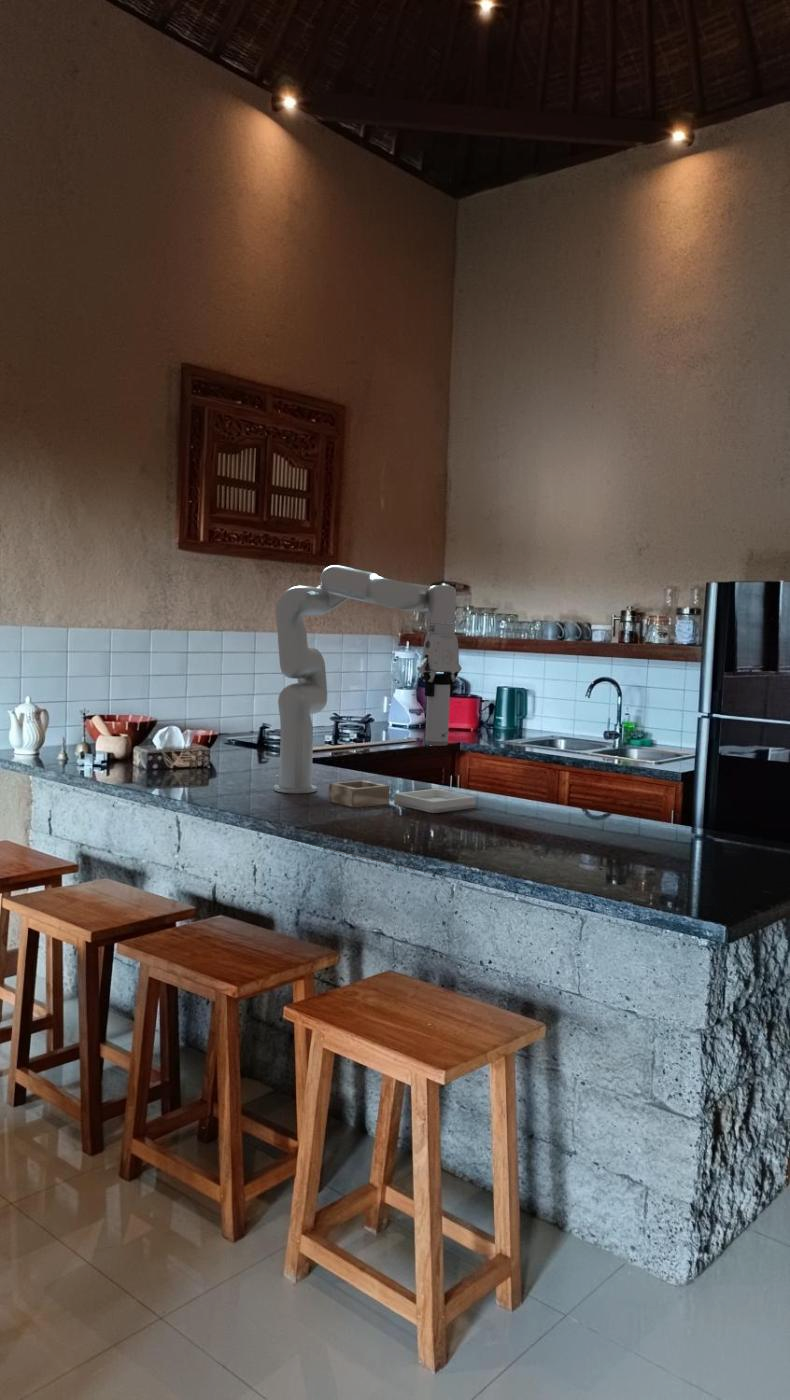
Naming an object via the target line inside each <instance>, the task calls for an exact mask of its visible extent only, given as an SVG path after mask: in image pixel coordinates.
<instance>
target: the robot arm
mask: <svg viewBox="0 0 790 1400" xmlns="http://www.w3.org/2000/svg"><path fill="white" fill-rule="evenodd" d="M319 583H320V585H318V586H316V587H315V586H309V585H297V586H293V587H291V588H288V589H287V590H285V591H284V592H283V593H282V594H280V596H279V597H278V600H277V601H276V605H275V612H274V614H275V623H276V630H277V643H278V644H277V645H278V657H279V658H278V659H279V668H280V671H281V674H282V675H283V676H285V677H286V678H288V679H291V680H293V679H295V680H296V679H297V683H296V682H295V683H292V684H291V683H290V684H289V685H287V686H285V687H283V688H282V690H281V691H280V693H279V695H278V701H277V704H278V713H279V723H280V736H279V738H280V742H279V744H280V745H279V746H280V747H279V750H280V751H279V773H278V774H277V775H275V777H274V779H275V780H276V781H278V782H277V783H278V784H275V785H274V786H273V790H274V792H278V793H284V794H310V793H315V792H317V790H318V787H317V786H316V785H314V784H312V783H313V782H312V781H313V753H314V752H313V750H314V749H313V748H314V745H313V743H314V726H313V721H312V717H311V715H314V714H315V715H316V714H318V713H320V712H322V711H323V709H325V707H326V705H327V702H328V686H327V685H328V684H327V683H328V682H327V671H326V670H327V669H326V663H325V659H324V657H323V654H322V653H321V652H320V650H319V649H317V648H316V647H313V646H309V644H308V636H307V635H308V633H307V629H306V625H305V622H304V620H303V618H304V617H305V616H309V617H310V616H312V617H313V616H314V617H320V616H324V615H326V614H328V613H330V612H331V611H333V610H334V609H336V608H338V607H339V606H340V605H343V603H345V602H346V601H348V600H349V599H351V600H356V601H360V602H364V603H367V604H375V605H377V606H383V607H386V608H391V609H395V610H400V611H405V612H415V613H416V612H417V613H419V612H421V613H422V612H427V625H426V626H425V631H426V632H427V634H426V635H425V638H424V644H423V650H422V660H421V662H420V664H418V666H417V667H416V670H417V671H418V673H419V674H420V677H421V678H422V680H423V682H424V696H425V697H427V696H429V697H433V696H434V685H435V683H434V682H432V681H433V679H434V676H435V674H437V673H443V674H445V673H448V672H450V673H452V675H450V697H452V696H454V693H453V692H454V682H456V678H457V677H458V675H459V674H460V672H461V671H462V666H461V665H460V657H459V656H460V651H459V642H458V637H457V636H456V634H455V633H456V612H457V611H456V608H457V605H456V604H457V603H456V602H457V590H456V587H454V586H452V585H445V584H444V585H442V584H439V585H436V584H435V585H432V586H431V585H425V584H418V583H411V582H403V581H400V580H394V579H390V578H385V577H382V576H379V574H378V573H375V572H371V571H366V570H361V569H356V568H353V567H350V566H345V565H344V566H343V565H338V564H335V565H334V564H333V565H329V566H327V567H326V568H324V569H323V571H322V572H321V573H320V577H319ZM429 675H430V676H429Z"/></svg>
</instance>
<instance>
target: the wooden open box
mask: <svg viewBox="0 0 790 1400" xmlns="http://www.w3.org/2000/svg"><path fill="white" fill-rule="evenodd" d="M328 802H330V803H335V804H339V805H343V806H347V807H352V808H354V807H357V808H362V807H363V806H365V807H371V806H372V807H373V806H380V805H381V806H382V805H389V804H390V785H387V784H384V783H383V784H382V783H377V782H373V781H368V780H363V779H359V780H349V781H338V782H337V781H336V782H328ZM363 808H364V807H363Z"/></svg>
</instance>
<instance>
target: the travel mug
mask: <svg viewBox="0 0 790 1400" xmlns="http://www.w3.org/2000/svg"><path fill="white" fill-rule="evenodd" d="M450 675H452V673H450V672H448V673H445V674H444V673H435V676H434V679H433V681H432V682H434V683H435V685H434V696H433V697H429V696H426V711H425V712H426V714H425V715H426V717H425V733H424V734H425V735H424V736H425V740H424V741H425V742H424V743H425V745H427V746H437V747H439V746H440V747H442V746H443V747H444V746H448V744H449V723H450V702H451V699H450V697H451V696H450ZM429 676H430V674H429Z"/></svg>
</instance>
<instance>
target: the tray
mask: <svg viewBox="0 0 790 1400" xmlns="http://www.w3.org/2000/svg"><path fill="white" fill-rule="evenodd" d="M476 799H477V797H476V796H473V795H468V794H464V793H463V794H462V793H459V792H454V791H449V790H444V789H441V788H430V789H423V790H414V791H412V790H411V791H402V792H395V793H394V796H393V805H397V806H401V807H405V808H408V809H413V810H416V811H417V810H418V811H423V812H427V813H431V814H436V813H437V814H439V813H444V812H454V811H462V810H469V809H475V808H476V801H477V800H476Z"/></svg>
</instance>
